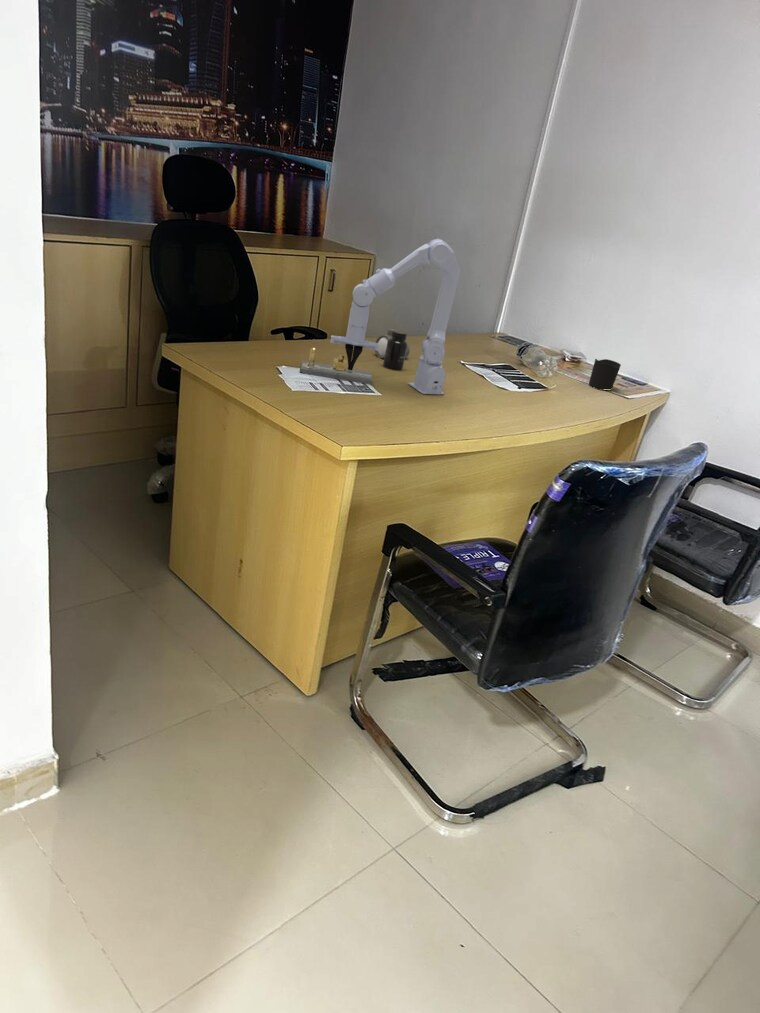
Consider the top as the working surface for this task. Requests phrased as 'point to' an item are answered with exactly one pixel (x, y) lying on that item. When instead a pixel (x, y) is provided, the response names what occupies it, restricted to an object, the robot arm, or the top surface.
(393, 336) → the supplement bottle
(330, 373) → the bolt plate
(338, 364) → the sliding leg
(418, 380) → the robot arm
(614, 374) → the pen holder
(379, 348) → the pipe fitting
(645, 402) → the top surface
